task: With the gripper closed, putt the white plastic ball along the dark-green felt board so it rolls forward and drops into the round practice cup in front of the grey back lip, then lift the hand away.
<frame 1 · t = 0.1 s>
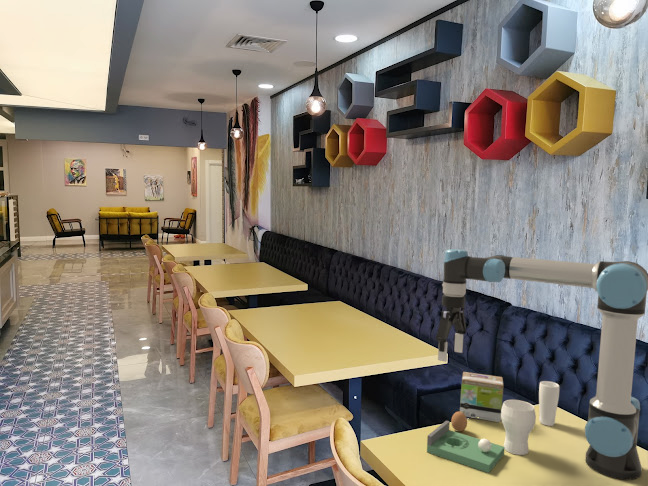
hand: (450, 356, 175), 28 cm above the table, fingers open, 13 cm apart
green: (465, 453, 164), on the table
ball: (484, 445, 160), point 4 cm above the table, touching green
egg: (458, 431, 181), on the table
cup: (515, 450, 168), on the table
tea box: (480, 415, 195), on the table
drinking glass: (546, 423, 190), on the table
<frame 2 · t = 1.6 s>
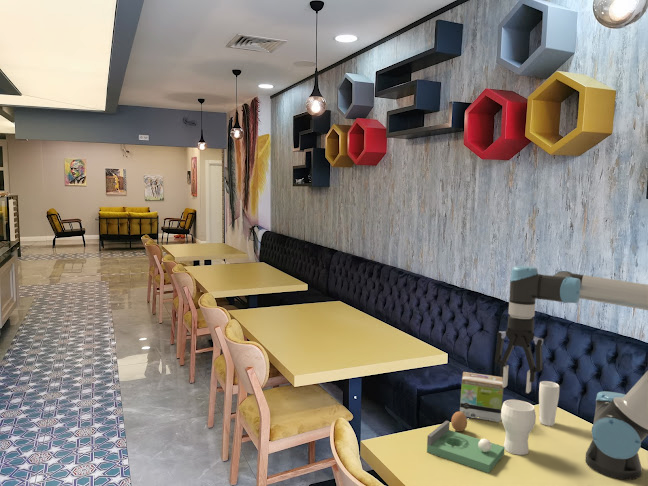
hand: (516, 388, 159), 23 cm above the table, fingers open, 6 cm apart
nothing on the table moved.
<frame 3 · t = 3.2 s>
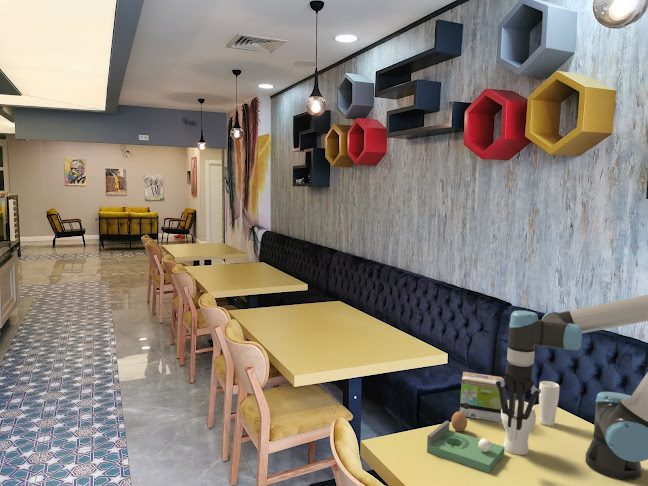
hand: (513, 438, 155), 9 cm above the table, fingers closed
nothing on the table moved.
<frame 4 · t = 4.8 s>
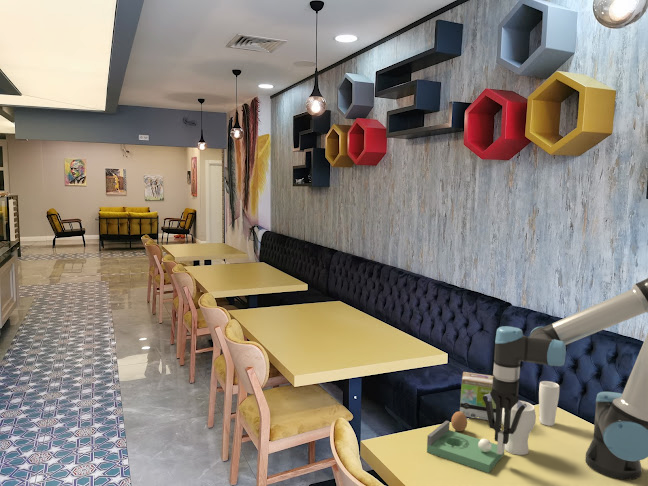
hand: (500, 452, 157), 4 cm above the table, fingers closed
nothing on the table moved.
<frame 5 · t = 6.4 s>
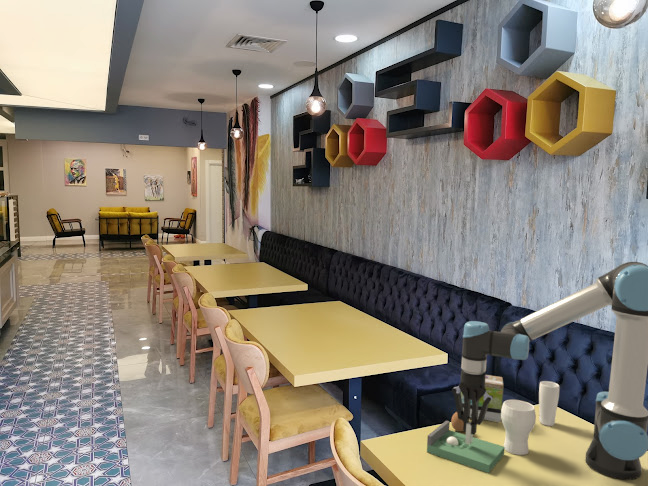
hand: (468, 442, 163), 4 cm above the table, fingers closed
ball: (452, 443, 167), point 2 cm above the table, tilted 31°
everything else where it was.
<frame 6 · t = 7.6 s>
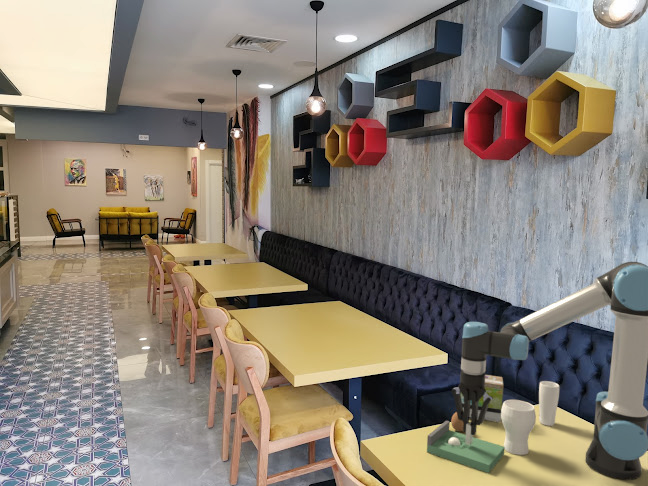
hand: (468, 443, 163), 4 cm above the table, fingers closed
ball: (454, 443, 166), point 2 cm above the table, tilted 51°
everything else where it was.
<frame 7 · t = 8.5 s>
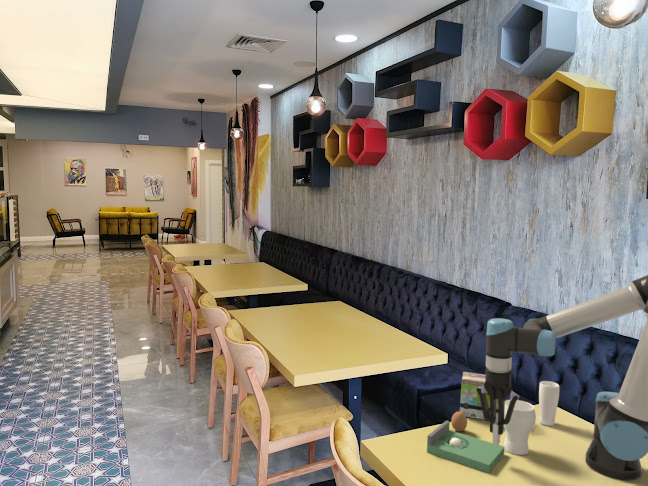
hand: (496, 443, 159), 6 cm above the table, fingers closed
ball: (455, 444, 166), point 2 cm above the table, tilted 65°
everything else where it was.
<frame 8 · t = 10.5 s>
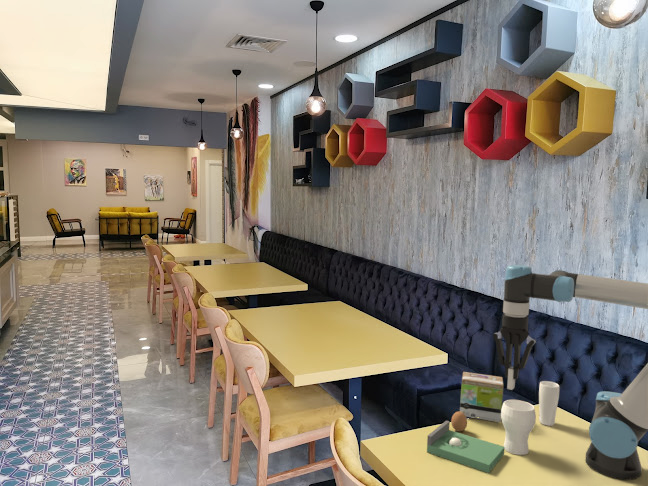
hand: (510, 388, 161), 22 cm above the table, fingers closed
nothing on the table moved.
at the end: ball 0.6 cm from the target spot in the green, point 2.0 cm above the green's base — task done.
